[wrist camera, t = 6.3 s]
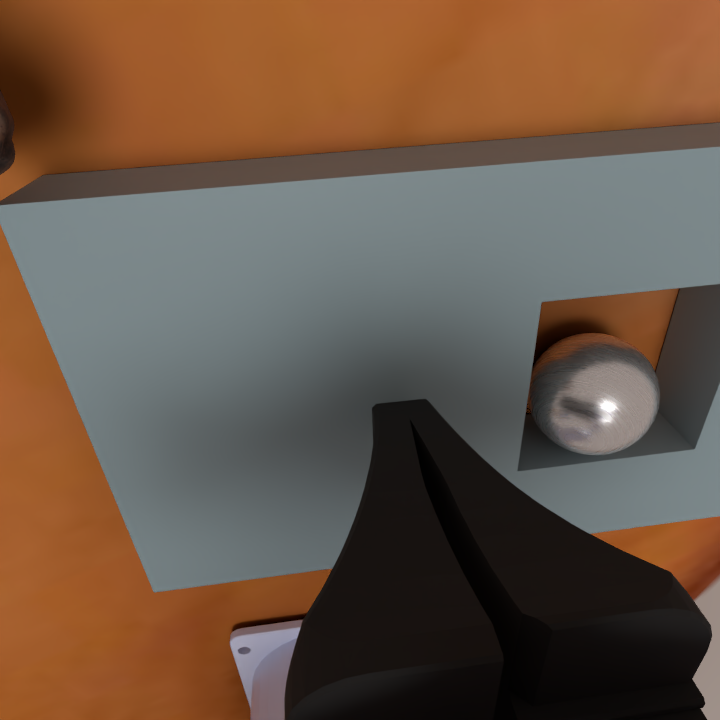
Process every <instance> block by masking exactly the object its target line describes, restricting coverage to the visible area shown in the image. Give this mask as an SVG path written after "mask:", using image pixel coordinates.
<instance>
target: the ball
mask: <svg viewBox="0 0 720 720" xmlns="http://www.w3.org/2000/svg"><path fill="white" fill-rule="evenodd" d="M659 403H660V388H659V383H658V379H657V376H656V373H655V371H654V369H653V367H652V365H651V364H650V362H649V361H648V360H647V358H646V357H645V356H644V355H643V354H642V353H641V352H640V351H639V350H638V349H637V348H635V347H634V346H632V345H631V344H629V343H628V342H626V341H624V340H622V339H620V338H617V337H614V336H611V335H607V334H601V333H583V334H577V335H573V336H570V337H567V338H564V339H562V340H560V341H558V342H557V343H555V344H553V345H552V346H551V347H550V348H548V349H547V350H546V351H545V352H544V353H543V354H542V355H541V356H540V358H539V359H538V360H537V362H536V363H535V365H534V367H533V369H532V373H531V380H530V387H529V394H528V405H529V409H530V412H531V414H532V417H533V419H534V421H535V422H536V424H537V425H538V427H539V428H540V430H541V431H542V432H543V433H544V434H545V435H546V436H547V437H548V438H549V439H550V440H552V441H553V442H554V443H556V444H557V445H559V446H561V447H563V448H565V449H567V450H570V451H573V452H576V453H580V454H585V455H605V454H611V453H614V452H618V451H621V450H623V449H625V448H627V447H629V446H631V445H632V444H634V443H635V442H637V441H638V440H639V439H640V438H641V437H642V436H643V435H644V434H645V433H646V432H647V431H648V430H649V428H650V427H651V425H652V424H653V422H654V420H655V417H656V415H657V412H658V409H659Z"/></svg>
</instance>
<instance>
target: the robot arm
mask: <svg viewBox="0 0 720 720" xmlns="http://www.w3.org/2000/svg"><path fill="white" fill-rule="evenodd" d="M372 427H373V448H372V455H371V462H370V467H369V471H368V475H367V479H366V483H365V487H364V491H363V494H362V498H361V501H360V504H359V507H358V510H357V513H356V516H355V519H354V521H353V524H352V526H351V529H350V532H349V534H348V537H347V539H346V541H345V544H344V546H343V548H342V550H341V553H340V555H339V557H338V559H337V561H336V563H335V565H334V567H333V569H332V571H331V573H330V575H329V577H328V579H327V581H326V582H325V584H324V586H323V588H322V590H321V591H320V593H319V595H318V596H317V598H316V600H315V601H314V603H313V605H312V606H311V608H310V609H309V611H308V613H307V614H306V616H305V618H304V619H302V620H295V621H288V622H281V623H274V624H267V625H260V626H253V627H246V628H240V629H236V630H235V631H233V632H232V633H231V636H230V646H231V650H232V653H233V656H234V659H235V662H236V665H237V668H238V671H239V674H240V678H241V681H242V684H243V687H244V690H245V693H246V696H247V699H248V702H249V706H250V709H251V717H250V720H707V719H706V717H705V715H704V714H703V712H702V711H701V709H700V708H703V707H704V705H705V701H704V697H703V696H702V694H701V693H700V691H699V689H698V688H697V686H696V684H695V683H694V681H693V680H692V678H693V676H694V674H695V673H696V671H697V669H698V667H699V665H700V663H701V662H702V660H703V658H704V656H705V654H706V652H707V650H708V647H709V644H710V641H711V638H712V631H711V625H710V624H709V622H708V621H707V619H706V618H705V617H704V615H703V614H702V613H701V611H700V610H699V608H698V607H697V605H696V604H695V602H694V601H693V599H692V598H691V597H690V595H689V594H688V593H687V591H686V590H685V589H684V588H683V587H682V585H681V584H680V583H679V582H678V581H677V579H676V578H675V577H674V576H673V574H672V573H671V572H669V571H667V570H664V569H662V568H660V567H658V566H655V565H653V564H651V563H649V562H646V561H644V560H642V559H640V558H638V557H635V556H633V555H631V554H629V553H626V552H624V551H622V550H620V549H618V548H616V547H614V546H612V545H610V544H608V543H606V542H604V541H602V540H600V539H598V538H596V537H595V536H593V535H591V534H589V533H587V532H585V531H584V530H582V529H580V528H578V527H576V526H575V525H573V524H571V523H570V522H568V521H567V520H565V519H563V518H562V517H560V516H558V515H557V514H555V513H554V512H552V511H550V510H549V509H547V508H546V507H544V506H543V505H541V504H540V503H538V502H537V501H535V500H534V499H532V498H531V497H530V496H528V495H527V494H526V493H524V492H523V491H521V490H520V489H519V488H517V487H516V486H515V485H514V484H512V483H511V482H510V481H509V480H507V479H506V478H505V477H504V476H503V475H501V474H500V473H499V472H498V471H497V470H496V469H494V468H493V467H492V466H491V465H490V464H489V463H488V462H487V461H485V460H484V459H483V458H482V457H481V456H480V455H479V454H478V453H477V452H476V451H475V450H474V449H473V448H472V447H471V446H470V445H469V444H468V443H467V442H466V441H465V440H464V439H463V438H462V437H461V436H460V435H459V434H458V433H457V432H456V431H455V430H454V429H453V428H452V427H451V426H450V425H449V423H448V422H447V421H446V420H445V419H444V418H443V417H442V416H441V415H440V413H439V412H438V411H437V410H436V409H435V408H434V406H433V405H432V404H431V403H430V402H429V401H428V400H427V399H417V400H408V401H398V402H388V403H379V404H376V405H375V406H373V407H372Z"/></svg>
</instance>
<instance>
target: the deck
mask: <svg viewBox="0 0 720 720" xmlns="http://www.w3.org/2000/svg"><path fill="white" fill-rule="evenodd" d="M0 224H1V227H2V229H3V232H4V234H5V236H6V239H7V241H8V244H9V246H10V248H11V251H12V253H13V256H14V258H15V260H16V263H17V265H18V268H19V270H20V272H21V275H22V277H23V280H24V282H25V284H26V287H27V289H28V291H29V294H30V296H31V299H32V301H33V303H34V306H35V308H36V311H37V313H38V315H39V318H40V320H41V323H42V325H43V327H44V330H45V332H46V335H47V337H48V339H49V342H50V344H51V347H52V349H53V351H54V354H55V356H56V359H57V361H58V363H59V366H60V368H61V371H62V373H63V375H64V378H65V380H66V383H67V385H68V387H69V390H70V392H71V395H72V397H73V399H74V402H75V404H76V407H77V409H78V411H79V414H80V416H81V419H82V421H83V423H84V426H85V428H86V431H87V433H88V435H89V438H90V440H91V443H92V445H93V447H94V450H95V452H96V455H97V457H98V459H99V462H100V464H101V467H102V469H103V471H104V474H105V476H106V479H107V481H108V483H109V486H110V488H111V491H112V493H113V495H114V498H115V500H116V503H117V505H118V507H119V510H120V512H121V515H122V517H123V519H124V522H125V524H126V527H127V529H128V531H129V534H130V536H131V539H132V541H133V543H134V546H135V548H136V551H137V553H138V555H139V558H140V560H141V562H142V565H143V567H144V570H145V572H146V574H147V577H148V579H149V582H150V584H151V586H152V589H153V591H154V592H161V591H168V590H176V589H183V588H191V587H198V586H205V585H213V584H220V583H228V582H235V581H242V580H250V579H257V578H265V577H272V576H279V575H287V574H294V573H302V572H309V571H317V570H324V569H331V568H333V567H334V565H335V563H336V561H337V559H338V557H339V555H340V553H341V550H342V548H343V546H344V544H345V541H346V539H347V537H348V534H349V532H350V529H351V526H352V524H353V521H354V519H355V516H356V513H357V510H358V507H359V504H360V501H361V498H362V494H363V491H364V487H365V483H366V479H367V475H368V471H369V467H370V462H371V455H372V448H373V427H372V407H373V406H375V405H376V404H379V403H388V402H398V401H408V400H417V399H427V400H428V401H429V402H430V403H431V404H432V405H433V406H434V408H435V409H436V410H437V411H438V412H439V413H440V415H441V416H442V417H443V418H444V419H445V420H446V421H447V422H448V423H449V425H450V426H451V427H452V428H453V429H454V430H455V431H456V432H457V433H458V434H459V435H460V436H461V437H462V438H463V439H464V440H465V441H466V442H467V443H468V444H469V445H470V446H471V447H472V448H473V449H474V450H475V451H476V452H477V453H478V454H479V455H480V456H481V457H482V458H483V459H484V460H485V461H487V462H488V463H489V464H490V465H491V466H492V467H493V468H494V469H496V470H497V471H498V472H499V473H500V474H501V475H503V476H504V477H505V478H506V479H507V480H509V481H510V482H511V483H512V484H514V485H515V486H516V487H517V488H519V489H520V490H521V491H523V492H524V493H526V494H527V495H528V496H530V497H531V498H532V499H534V500H535V501H537V502H538V503H540V504H541V505H543V506H544V507H546V508H547V509H549V510H550V511H552V512H554V513H555V514H557V515H558V516H560V517H562V518H563V519H565V520H567V521H568V522H570V523H571V524H573V525H575V526H576V527H578V528H580V529H582V530H584V531H585V532H587V533H589V534H591V533H598V532H605V531H613V530H620V529H628V528H635V527H642V526H650V525H657V524H665V523H672V522H679V521H687V520H694V519H702V518H709V517H716V516H720V123H707V124H694V125H681V126H668V127H655V128H643V129H630V130H617V131H604V132H591V133H578V134H566V135H553V136H540V137H527V138H514V139H501V140H489V141H476V142H463V143H450V144H437V145H424V146H412V147H399V148H386V149H373V150H360V151H347V152H335V153H322V154H309V155H296V156H283V157H270V158H258V159H245V160H232V161H219V162H206V163H193V164H181V165H168V166H155V167H142V168H129V169H116V170H104V171H91V172H78V173H65V174H52V175H42V176H41V177H39V178H37V179H36V180H34V181H33V182H31V183H29V184H28V185H26V186H24V187H23V188H21V189H19V190H18V191H16V192H15V193H13V194H11V195H10V196H8V197H6V198H5V199H3V200H2V201H0ZM675 288H680V290H679V294H678V297H677V301H676V304H675V308H674V311H673V314H672V318H671V321H670V325H669V328H668V331H667V335H666V338H665V342H664V345H663V349H662V352H661V355H660V359H659V362H658V366H657V369H656V376H657V379H658V383H659V388H660V403H659V409H658V412H657V415H656V417H655V420H654V422H653V424H652V425H651V427H650V428H649V430H648V431H647V432H646V433H645V434H644V435H643V436H642V437H641V438H640V439H639V440H638V441H637V442H635V443H634V444H632V445H631V446H629V447H627V448H625V449H623V450H621V451H618V452H614V453H611V454H605V455H585V454H580V453H576V452H573V451H570V450H567V449H565V448H563V447H561V446H559V445H557V444H556V443H554V442H553V441H552V440H550V439H549V438H548V437H547V436H546V435H545V434H544V433H543V432H542V431H541V430H540V428H539V427H538V425H537V424H536V422H535V421H534V419H533V417H532V414H527V415H525V414H526V407H527V401H528V394H529V387H530V380H531V373H532V366H533V359H534V352H535V345H536V338H537V331H538V324H539V317H540V310H541V303H542V302H546V301H556V300H566V299H576V298H586V297H596V296H606V295H616V294H625V293H635V292H645V291H655V290H665V289H675Z"/></svg>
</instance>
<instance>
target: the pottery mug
mask: <svg viewBox="0 0 720 720" xmlns="http://www.w3.org/2000/svg"><path fill="white" fill-rule="evenodd" d="M13 131H14V120H13V117H12V115H11V113H10V111H9V109H8V106H7V104H6V101H5V99H4V97H3V94H2V92H1V90H0V175H1V174H2V173H4V172H5V171H6V170H8V169H9V168H10V167H11V165H12V164H13V162H14V159H15V150H14V144H13V142H12V136H13Z"/></svg>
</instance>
